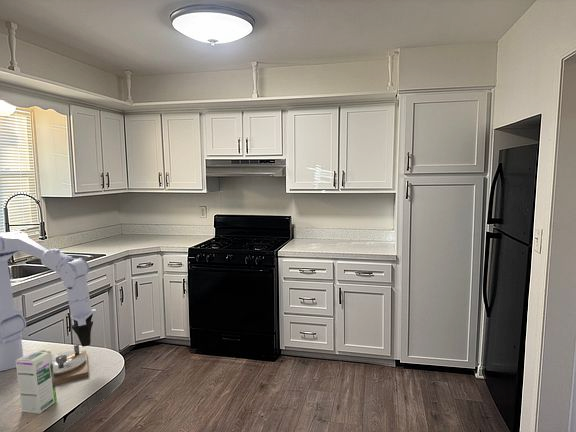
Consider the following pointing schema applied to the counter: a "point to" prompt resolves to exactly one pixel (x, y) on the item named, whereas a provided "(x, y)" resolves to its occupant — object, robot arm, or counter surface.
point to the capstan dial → (67, 361)
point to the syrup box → (36, 381)
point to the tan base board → (73, 373)
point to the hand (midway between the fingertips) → (86, 341)
